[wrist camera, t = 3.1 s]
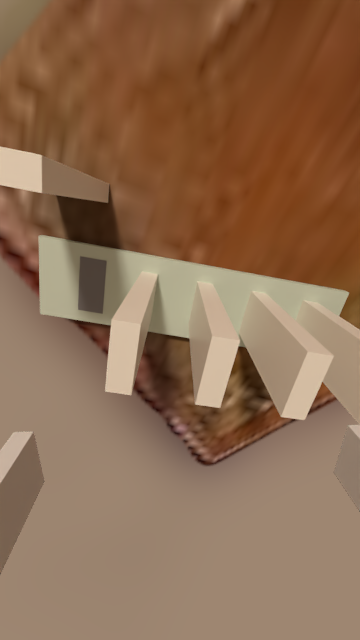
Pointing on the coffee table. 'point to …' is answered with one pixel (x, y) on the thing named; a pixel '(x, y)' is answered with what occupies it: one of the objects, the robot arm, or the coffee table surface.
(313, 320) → the domino
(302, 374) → the domino
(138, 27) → the coffee table surface
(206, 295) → the domino
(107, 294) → the board
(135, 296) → the domino
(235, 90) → the coffee table surface
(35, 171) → the domino
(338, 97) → the coffee table surface
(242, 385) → the coffee table surface
